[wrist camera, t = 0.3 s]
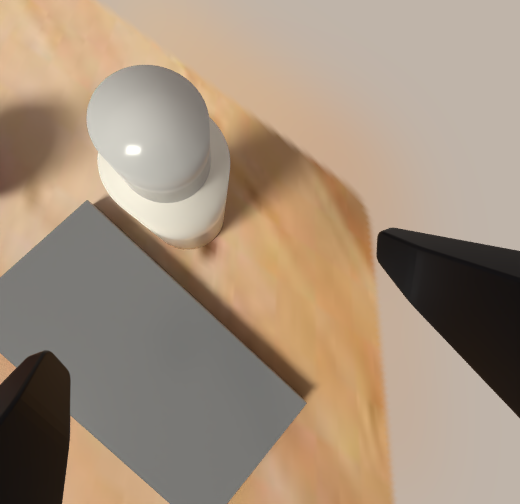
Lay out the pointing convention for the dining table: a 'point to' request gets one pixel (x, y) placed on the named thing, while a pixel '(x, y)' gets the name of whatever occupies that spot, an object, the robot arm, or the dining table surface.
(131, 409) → the slate board
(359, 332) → the dining table surface
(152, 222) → the white bottle
